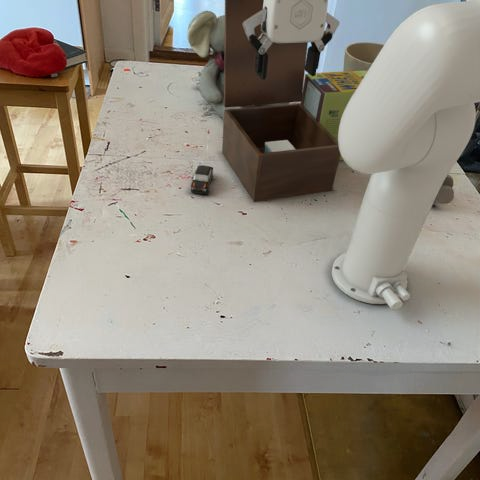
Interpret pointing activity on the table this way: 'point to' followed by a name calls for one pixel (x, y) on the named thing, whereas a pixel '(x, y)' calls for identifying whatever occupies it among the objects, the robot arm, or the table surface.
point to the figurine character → (445, 191)
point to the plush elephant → (212, 75)
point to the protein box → (330, 96)
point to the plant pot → (361, 56)
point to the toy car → (202, 178)
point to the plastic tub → (278, 146)
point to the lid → (243, 62)
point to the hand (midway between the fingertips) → (285, 75)
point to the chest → (281, 162)
